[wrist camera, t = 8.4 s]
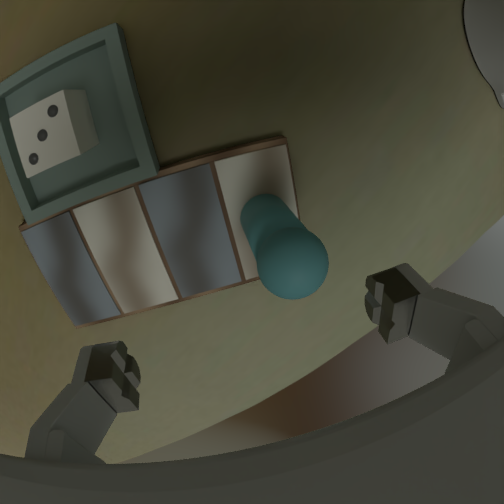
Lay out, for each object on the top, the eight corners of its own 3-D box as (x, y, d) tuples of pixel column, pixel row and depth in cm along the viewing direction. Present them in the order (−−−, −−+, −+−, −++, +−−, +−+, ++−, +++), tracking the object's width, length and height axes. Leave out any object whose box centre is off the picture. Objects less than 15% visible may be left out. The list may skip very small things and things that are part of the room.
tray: (122, 29, 17) (115, 22, 14) (160, 167, 23) (157, 175, 21) (-1, 92, 16) (-16, 94, 14) (39, 214, 22) (28, 225, 20)
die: (85, 89, 18) (62, 89, 14) (99, 143, 20) (80, 154, 16) (37, 112, 17) (8, 118, 13) (51, 163, 20) (26, 178, 16)
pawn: (285, 185, 24) (338, 238, 16) (293, 233, 26) (341, 300, 18) (232, 199, 24) (258, 262, 16) (244, 247, 26) (273, 322, 18)
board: (281, 135, 23) (287, 137, 22) (302, 258, 29) (307, 266, 28) (23, 221, 22) (17, 228, 21) (79, 321, 28) (76, 329, 27)
